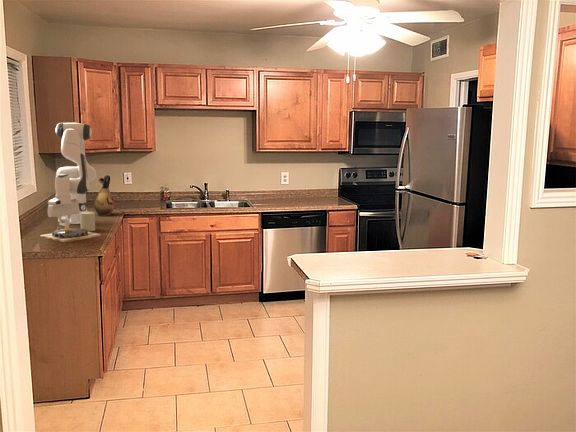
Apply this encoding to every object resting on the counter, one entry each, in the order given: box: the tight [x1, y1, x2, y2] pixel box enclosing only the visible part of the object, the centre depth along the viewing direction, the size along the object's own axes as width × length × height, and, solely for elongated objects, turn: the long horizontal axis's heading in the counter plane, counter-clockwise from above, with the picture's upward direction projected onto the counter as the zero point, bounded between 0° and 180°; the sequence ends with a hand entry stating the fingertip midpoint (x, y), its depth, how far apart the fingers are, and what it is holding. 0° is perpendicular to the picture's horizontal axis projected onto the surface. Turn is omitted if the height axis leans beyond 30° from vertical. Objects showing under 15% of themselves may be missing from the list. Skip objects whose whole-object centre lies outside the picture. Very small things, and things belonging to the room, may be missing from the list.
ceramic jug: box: [93, 174, 116, 217], centre depth 408 cm, size 17×15×30 cm
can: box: [79, 211, 97, 232], centre depth 351 cm, size 9×9×12 cm
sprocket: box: [51, 225, 89, 238], centre depth 331 cm, size 20×20×7 cm
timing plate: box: [38, 226, 101, 243], centre depth 332 cm, size 25×25×4 cm
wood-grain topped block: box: [58, 217, 71, 227], centre depth 333 cm, size 6×3×4 cm, turn 58°
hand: (64, 222), depth 333 cm, fingers closed on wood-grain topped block, 3 cm apart
